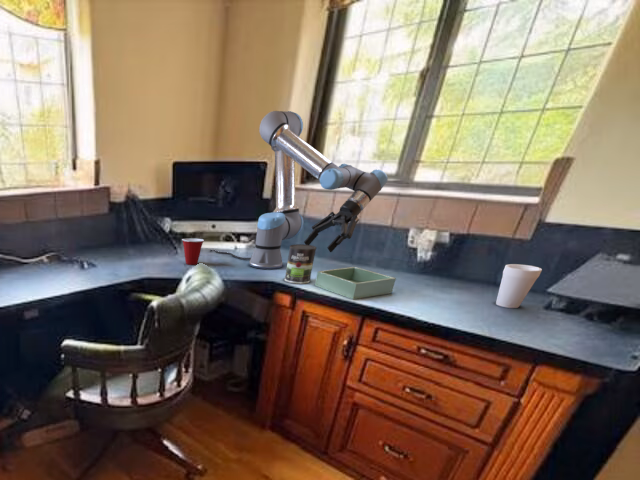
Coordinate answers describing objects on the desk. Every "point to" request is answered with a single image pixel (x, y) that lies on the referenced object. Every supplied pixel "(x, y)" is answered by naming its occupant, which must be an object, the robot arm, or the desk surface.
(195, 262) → the plastic cup
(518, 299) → the foam cup
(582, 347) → the desk surface
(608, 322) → the desk surface
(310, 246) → the coffee can
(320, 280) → the tray
